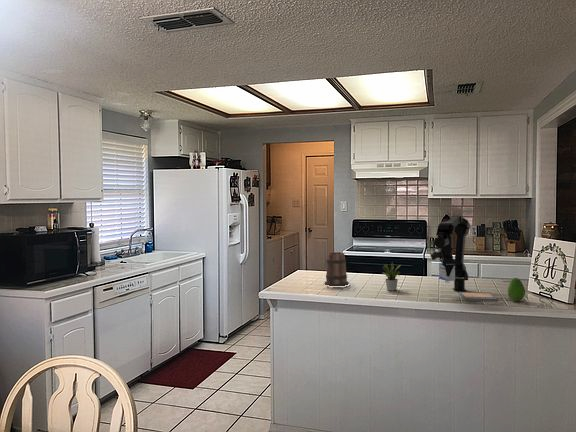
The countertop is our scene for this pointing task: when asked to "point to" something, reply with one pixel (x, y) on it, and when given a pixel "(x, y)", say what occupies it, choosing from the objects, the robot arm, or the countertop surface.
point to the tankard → (336, 269)
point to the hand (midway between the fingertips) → (446, 275)
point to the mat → (477, 296)
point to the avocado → (516, 290)
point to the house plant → (391, 277)
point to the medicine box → (443, 273)
